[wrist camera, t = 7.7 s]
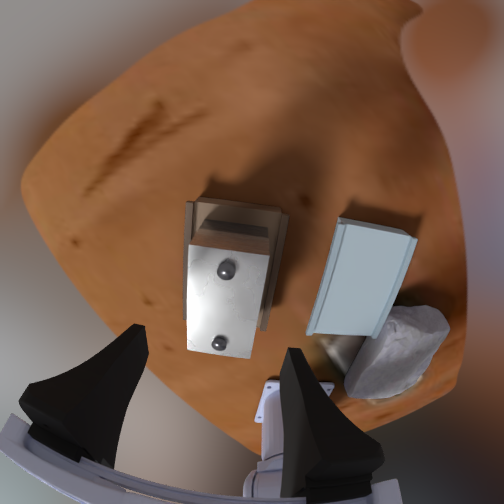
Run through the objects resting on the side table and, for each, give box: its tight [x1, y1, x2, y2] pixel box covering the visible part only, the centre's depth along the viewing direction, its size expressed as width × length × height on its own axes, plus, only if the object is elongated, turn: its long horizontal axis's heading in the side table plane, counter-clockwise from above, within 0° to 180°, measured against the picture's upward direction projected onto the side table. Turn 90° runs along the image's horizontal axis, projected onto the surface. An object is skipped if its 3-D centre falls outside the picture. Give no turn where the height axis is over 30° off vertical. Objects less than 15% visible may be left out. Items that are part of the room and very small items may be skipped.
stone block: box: [344, 305, 450, 399], centre depth 25 cm, size 12×5×10 cm
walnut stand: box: [183, 197, 289, 331], centre depth 21 cm, size 7×10×2 cm
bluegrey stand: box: [306, 217, 418, 339], centre depth 21 cm, size 7×10×2 cm
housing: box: [187, 219, 270, 359], centre depth 18 cm, size 8×4×5 cm, turn 172°
